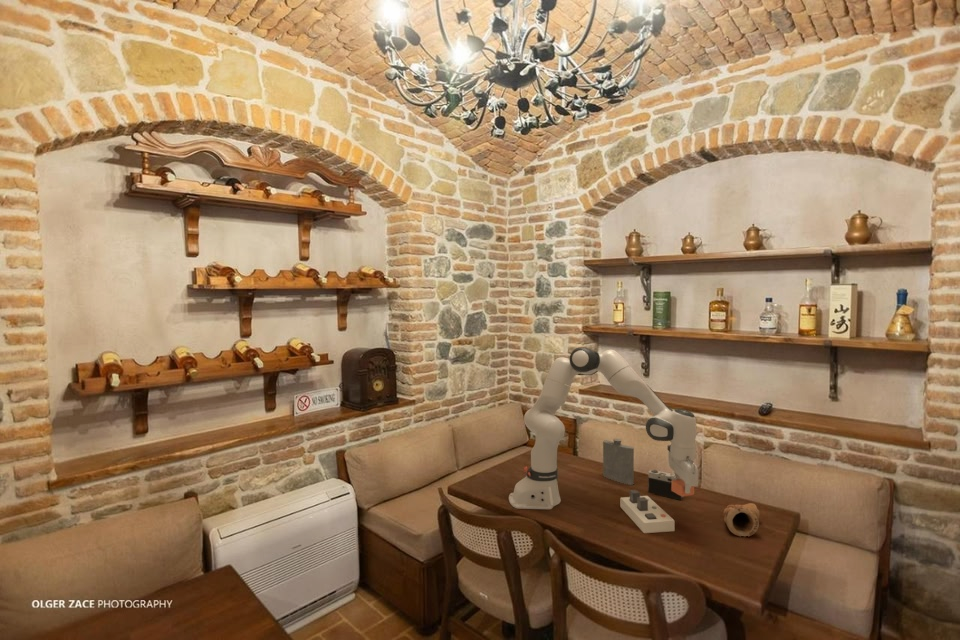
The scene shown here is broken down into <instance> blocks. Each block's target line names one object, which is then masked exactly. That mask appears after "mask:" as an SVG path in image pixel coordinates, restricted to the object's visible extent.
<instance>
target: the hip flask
mask: <svg viewBox="0 0 960 640" xmlns="http://www.w3.org/2000/svg"><path fill="white" fill-rule="evenodd" d="M634 450H635V447H633V446H631V445H626V444H622V439H620V438H614V439H613V440H612V441H611V440H607V439H606V440H603V441H602V456H603V457H602V460H603V461H602V464H603V465H602V466H603V467H602V470H603V471H602V475H603V476H604V477H603V478H605V477H606V479H608V480H610V479H611V481H613V480H614V482H616V481H617V483H619V482H620V484H623V483H624V485H627V484H628V485H627V486H634V485H635V484H634V477H635V475H634V472H635V471H634V469H635V465H634V459H635V458H634V456H635V454H634V453H635V451H634ZM633 484H634V485H633Z"/></svg>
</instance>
